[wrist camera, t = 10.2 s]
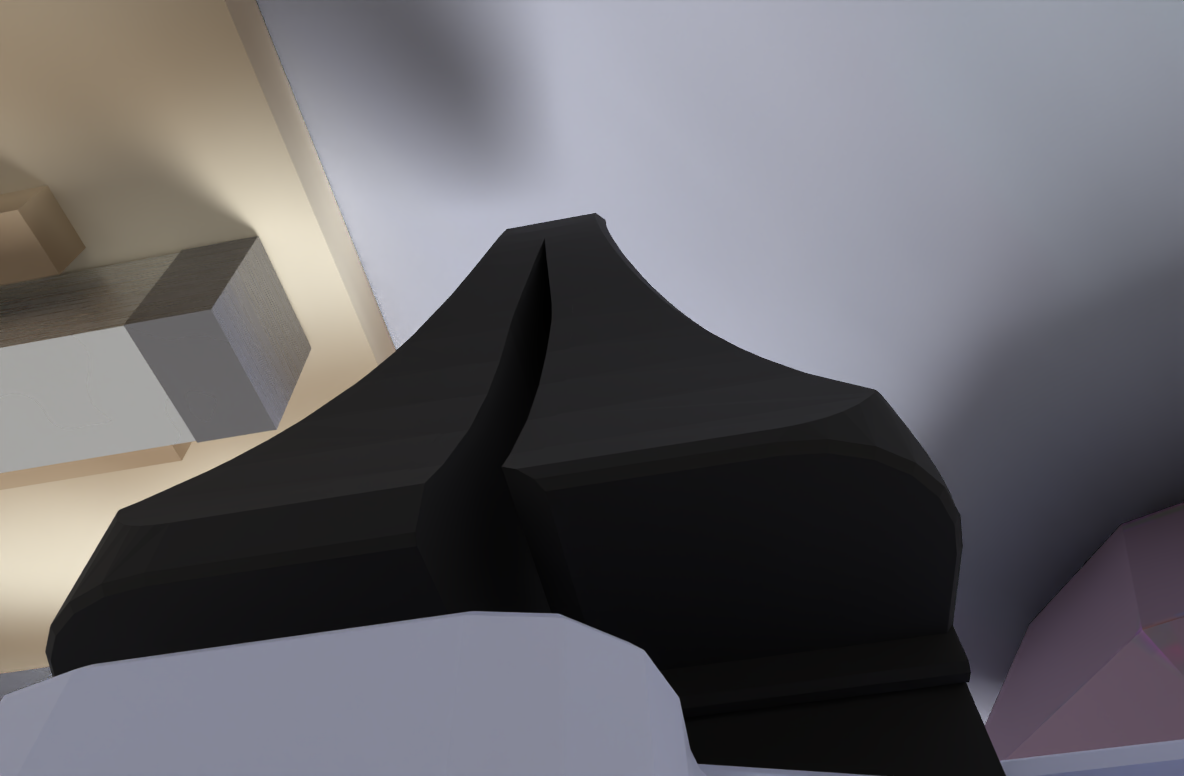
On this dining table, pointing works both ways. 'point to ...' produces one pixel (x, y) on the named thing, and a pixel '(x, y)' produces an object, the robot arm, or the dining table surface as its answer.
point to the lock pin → (146, 355)
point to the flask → (1103, 651)
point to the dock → (155, 234)
